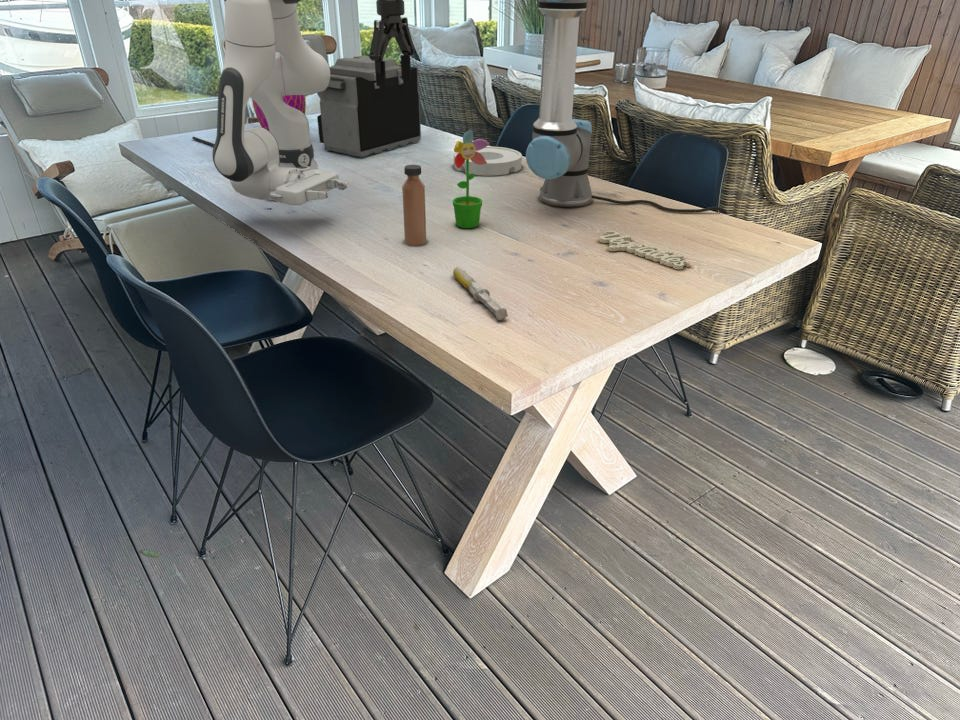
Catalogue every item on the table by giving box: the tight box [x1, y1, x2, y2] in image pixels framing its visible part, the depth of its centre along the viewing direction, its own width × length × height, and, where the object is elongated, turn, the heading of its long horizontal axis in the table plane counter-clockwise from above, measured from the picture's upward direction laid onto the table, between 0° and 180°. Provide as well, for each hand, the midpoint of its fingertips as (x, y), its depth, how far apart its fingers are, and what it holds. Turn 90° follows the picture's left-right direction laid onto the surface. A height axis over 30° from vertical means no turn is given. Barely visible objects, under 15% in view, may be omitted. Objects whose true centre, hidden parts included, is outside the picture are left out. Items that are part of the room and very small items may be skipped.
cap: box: [403, 164, 422, 176], centre depth 163 cm, size 4×4×2 cm
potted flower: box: [452, 129, 491, 229], centre depth 177 cm, size 9×8×25 cm
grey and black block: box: [316, 55, 422, 159], centre depth 250 cm, size 37×22×30 cm, turn 144°
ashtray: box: [453, 145, 523, 177], centre depth 234 cm, size 23×23×4 cm
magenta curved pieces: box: [251, 55, 307, 131], centre depth 257 cm, size 19×19×30 cm
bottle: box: [401, 175, 427, 247], centre depth 168 cm, size 5×5×18 cm
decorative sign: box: [599, 230, 690, 270], centre depth 167 cm, size 26×1×10 cm
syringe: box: [452, 266, 509, 321], centre depth 145 cm, size 25×4×3 cm, turn 21°
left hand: (336, 190), depth 173 cm, fingers open, 8 cm apart
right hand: (394, 83), depth 195 cm, fingers open, 13 cm apart
